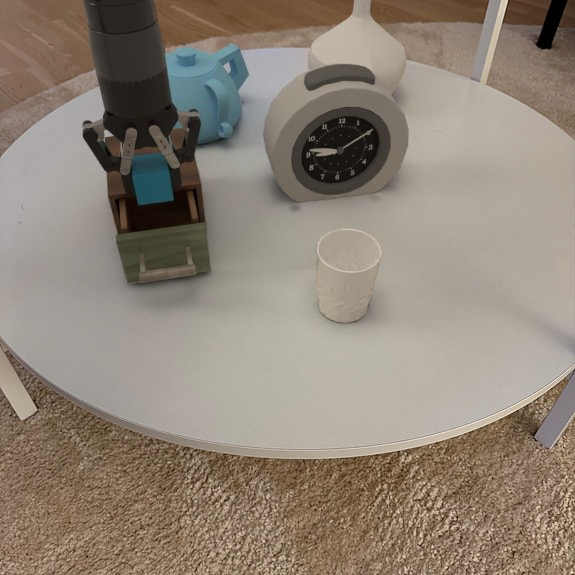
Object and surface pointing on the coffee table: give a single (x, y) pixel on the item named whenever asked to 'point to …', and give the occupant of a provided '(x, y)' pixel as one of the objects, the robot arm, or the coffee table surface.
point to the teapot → (208, 88)
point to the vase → (361, 47)
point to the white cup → (346, 273)
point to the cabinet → (186, 169)
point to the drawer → (162, 239)
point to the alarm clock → (334, 134)
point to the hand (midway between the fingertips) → (154, 190)
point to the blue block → (151, 178)
